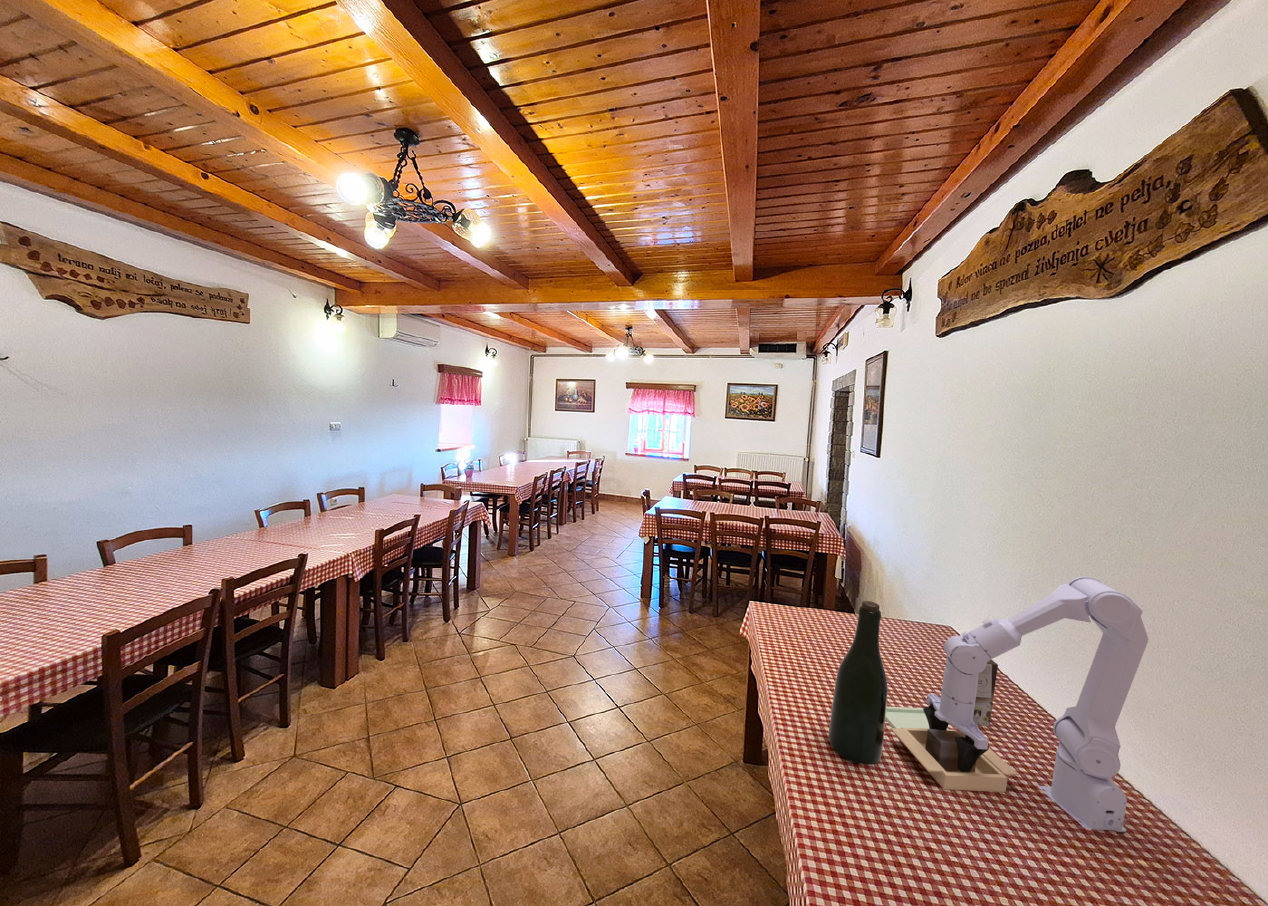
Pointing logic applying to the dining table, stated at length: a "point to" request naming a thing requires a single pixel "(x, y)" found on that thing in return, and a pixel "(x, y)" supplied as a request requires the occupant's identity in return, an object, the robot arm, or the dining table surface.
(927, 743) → the walnut block
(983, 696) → the coffee box
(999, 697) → the dining table surface
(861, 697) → the beer bottle
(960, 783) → the carton
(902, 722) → the green tray
